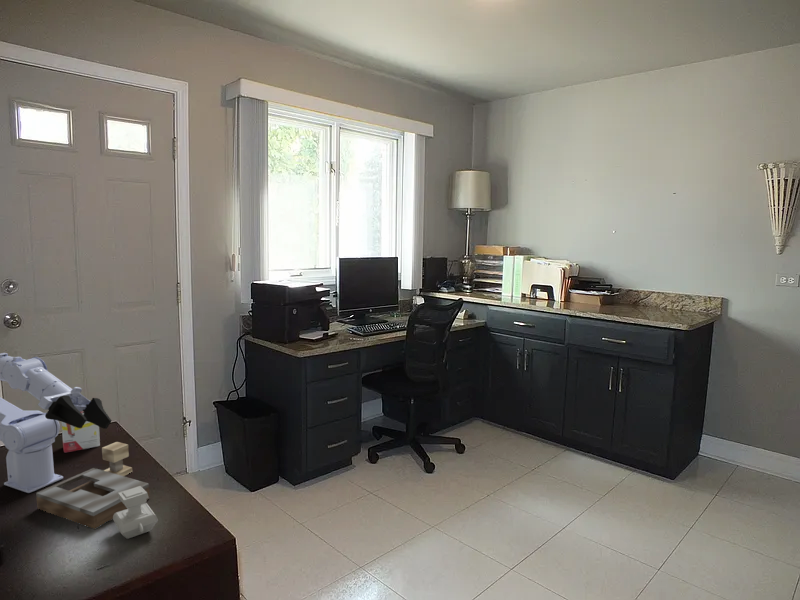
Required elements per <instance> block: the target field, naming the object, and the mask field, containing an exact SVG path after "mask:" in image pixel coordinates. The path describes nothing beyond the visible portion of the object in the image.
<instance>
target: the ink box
mask: <svg viewBox="0 0 800 600" xmlns="http://www.w3.org/2000/svg"><path fill="white" fill-rule="evenodd" d="M83 412H84V411H81V413H82V414H83V415H84V413H83ZM61 434H62V448H63V453H71V452H76V451H81V450H87V449H90V448H98V447H100V446H101V442H100V441H101V439H100V427H99V426H97V425H95V424H93V423H91V422H88V421H86V422H85V424H84V425H83V427H82V428H77V427H74V426H72V425H69V424H67V423H64V422H61Z"/></svg>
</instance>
